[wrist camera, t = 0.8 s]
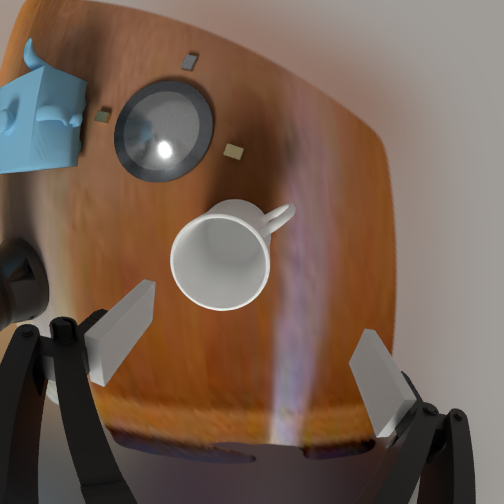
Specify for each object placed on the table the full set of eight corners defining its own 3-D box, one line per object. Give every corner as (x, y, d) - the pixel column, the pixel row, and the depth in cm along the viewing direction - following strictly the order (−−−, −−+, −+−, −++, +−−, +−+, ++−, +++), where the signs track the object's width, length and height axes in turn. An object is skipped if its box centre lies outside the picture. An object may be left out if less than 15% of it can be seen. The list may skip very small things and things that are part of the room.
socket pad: (85, 161, 31) (80, 160, 30) (127, 49, 27) (124, 47, 26) (223, 206, 32) (222, 207, 31) (273, 77, 28) (273, 74, 27)
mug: (274, 173, 31) (279, 169, 19) (307, 237, 33) (328, 269, 21) (187, 220, 33) (148, 242, 21) (221, 279, 35) (201, 327, 23)
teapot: (97, 165, 32) (31, 165, 19) (29, 171, 32) (-29, 178, 20) (115, 47, 27) (65, 12, 14) (43, 70, 27) (-8, 54, 15)
